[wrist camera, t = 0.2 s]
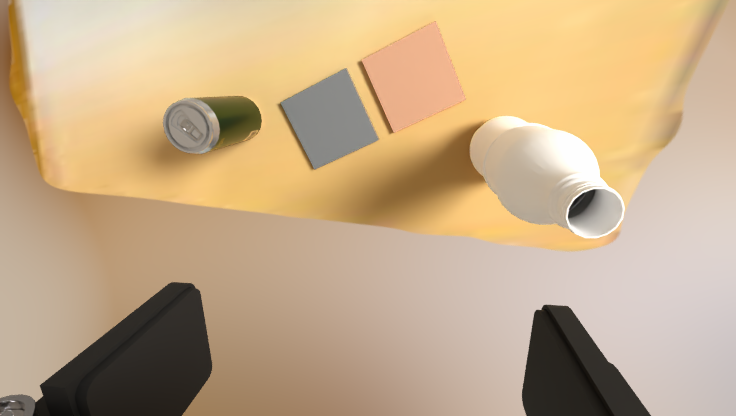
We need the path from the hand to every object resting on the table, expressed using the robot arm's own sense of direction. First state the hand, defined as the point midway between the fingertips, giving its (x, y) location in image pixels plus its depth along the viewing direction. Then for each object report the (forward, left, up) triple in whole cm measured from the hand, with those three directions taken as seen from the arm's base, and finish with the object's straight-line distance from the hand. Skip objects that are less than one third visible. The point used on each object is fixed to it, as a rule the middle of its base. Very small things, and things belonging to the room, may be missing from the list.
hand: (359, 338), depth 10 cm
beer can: (-11, -17, -37) cm, 42 cm away
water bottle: (+5, +10, -37) cm, 39 cm away
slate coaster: (-6, -7, -37) cm, 38 cm away
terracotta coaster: (-6, +4, -37) cm, 37 cm away
